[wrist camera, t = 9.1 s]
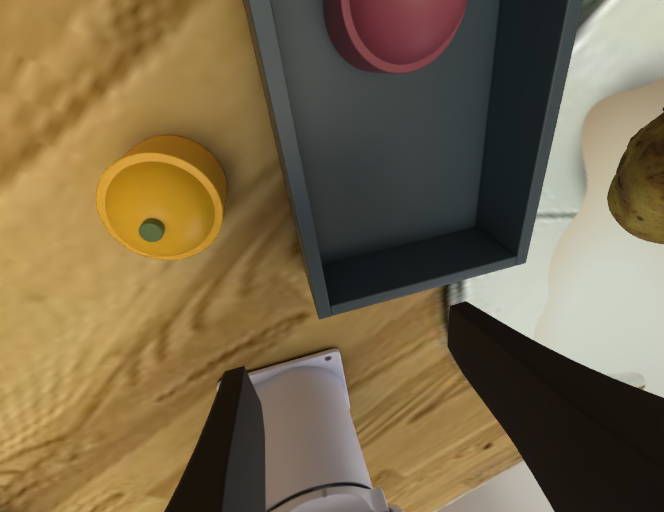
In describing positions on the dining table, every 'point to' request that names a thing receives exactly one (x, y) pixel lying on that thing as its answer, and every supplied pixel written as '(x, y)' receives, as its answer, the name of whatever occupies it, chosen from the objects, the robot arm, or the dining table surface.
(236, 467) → the robot arm
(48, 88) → the dining table surface
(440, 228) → the tote
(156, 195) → the orange rounded piece
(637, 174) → the potato
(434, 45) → the dark red hollow cup
